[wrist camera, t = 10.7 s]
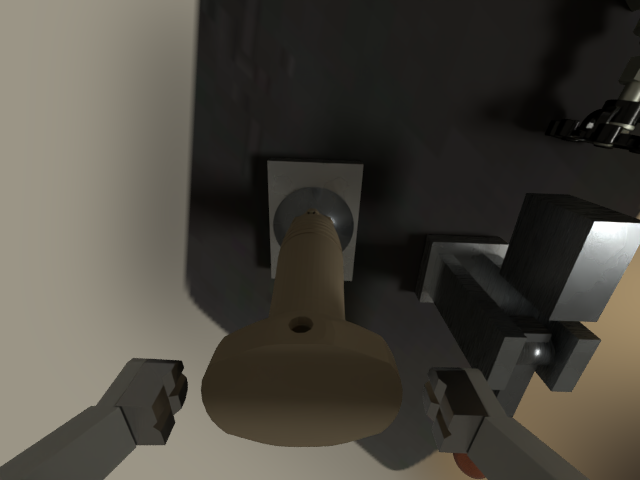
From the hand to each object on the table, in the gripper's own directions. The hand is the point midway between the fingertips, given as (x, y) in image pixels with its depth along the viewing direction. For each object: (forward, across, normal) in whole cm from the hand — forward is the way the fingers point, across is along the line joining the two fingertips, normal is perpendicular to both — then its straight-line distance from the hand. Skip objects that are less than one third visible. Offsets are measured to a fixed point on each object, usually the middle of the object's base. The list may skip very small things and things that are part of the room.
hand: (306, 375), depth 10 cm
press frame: (+16, -6, +2) cm, 17 cm away
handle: (+15, 0, +1) cm, 15 cm away
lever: (+9, -13, +7) cm, 17 cm away
